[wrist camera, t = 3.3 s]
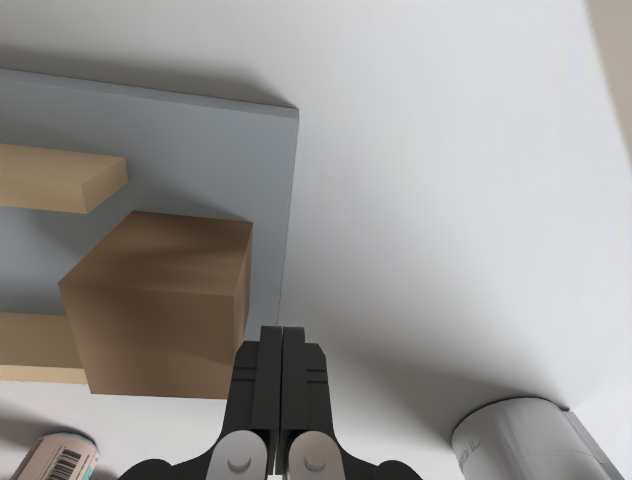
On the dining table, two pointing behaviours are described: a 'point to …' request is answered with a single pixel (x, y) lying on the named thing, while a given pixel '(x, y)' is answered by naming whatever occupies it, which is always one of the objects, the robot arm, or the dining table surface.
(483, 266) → the dining table surface
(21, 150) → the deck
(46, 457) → the beer can
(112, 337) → the block
